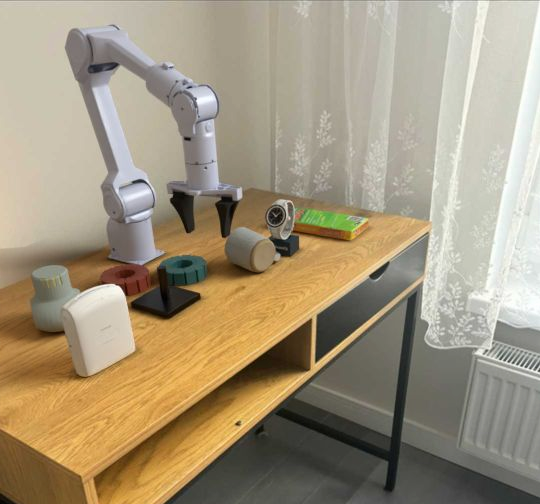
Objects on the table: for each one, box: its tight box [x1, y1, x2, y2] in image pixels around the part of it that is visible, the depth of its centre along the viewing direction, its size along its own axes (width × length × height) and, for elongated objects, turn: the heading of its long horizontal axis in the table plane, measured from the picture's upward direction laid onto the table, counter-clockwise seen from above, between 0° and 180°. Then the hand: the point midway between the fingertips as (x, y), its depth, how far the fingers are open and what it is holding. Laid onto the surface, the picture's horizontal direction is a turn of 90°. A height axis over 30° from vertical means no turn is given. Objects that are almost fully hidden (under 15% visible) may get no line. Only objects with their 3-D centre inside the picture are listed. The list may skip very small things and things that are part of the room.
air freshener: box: [29, 264, 81, 333], centre depth 104 cm, size 11×8×10 cm
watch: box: [264, 198, 300, 257], centre depth 128 cm, size 6×8×11 cm
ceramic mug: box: [224, 226, 281, 273], centre depth 123 cm, size 11×8×8 cm
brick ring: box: [99, 263, 152, 297], centre depth 118 cm, size 9×9×3 cm
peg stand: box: [130, 265, 202, 320], centre depth 110 cm, size 9×9×7 cm
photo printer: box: [60, 284, 136, 378], centre depth 92 cm, size 10×4×12 cm, turn 140°
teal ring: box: [158, 254, 208, 287], centre depth 121 cm, size 9×9×3 cm
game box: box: [292, 206, 370, 241], centre depth 141 cm, size 3×10×20 cm
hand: (208, 233), depth 115 cm, fingers open, 7 cm apart
